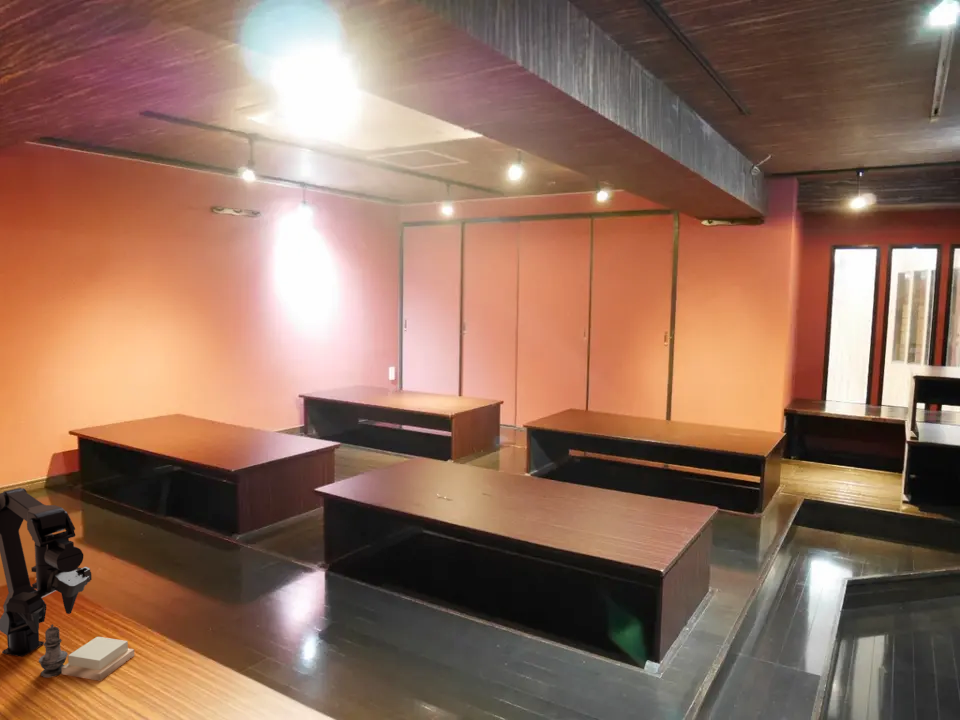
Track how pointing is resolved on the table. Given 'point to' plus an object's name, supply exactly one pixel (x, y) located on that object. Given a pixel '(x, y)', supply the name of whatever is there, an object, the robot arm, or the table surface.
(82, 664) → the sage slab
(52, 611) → the table surface
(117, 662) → the birch slab
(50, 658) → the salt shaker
